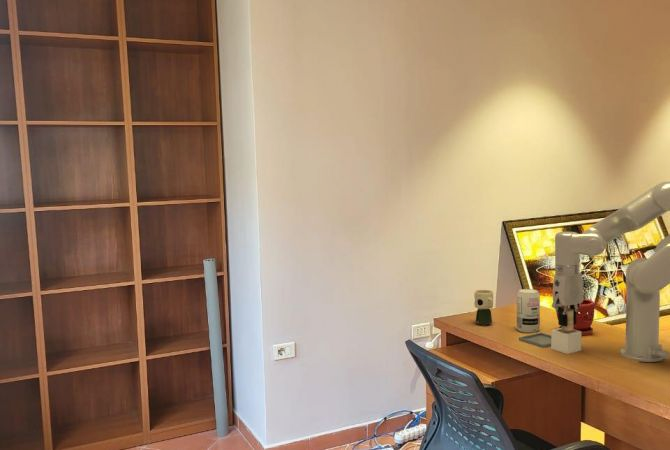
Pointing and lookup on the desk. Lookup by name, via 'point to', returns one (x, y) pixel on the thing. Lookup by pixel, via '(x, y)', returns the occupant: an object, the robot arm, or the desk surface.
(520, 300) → the supplement can
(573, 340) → the white open square box
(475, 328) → the desk surface
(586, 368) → the desk surface
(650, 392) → the desk surface
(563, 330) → the dowel
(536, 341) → the tray
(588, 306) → the plant pot
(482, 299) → the character mug
